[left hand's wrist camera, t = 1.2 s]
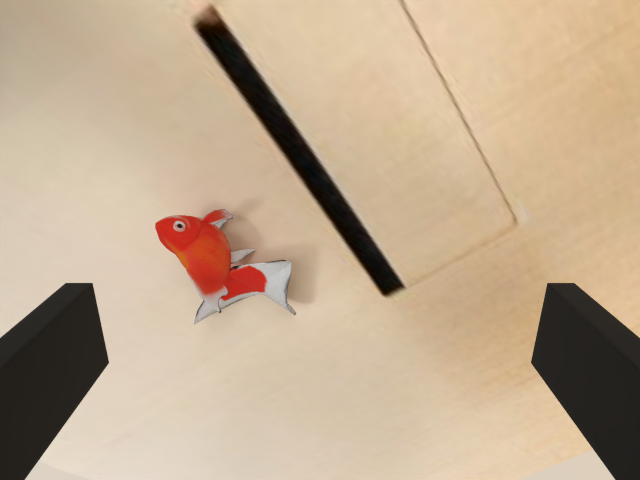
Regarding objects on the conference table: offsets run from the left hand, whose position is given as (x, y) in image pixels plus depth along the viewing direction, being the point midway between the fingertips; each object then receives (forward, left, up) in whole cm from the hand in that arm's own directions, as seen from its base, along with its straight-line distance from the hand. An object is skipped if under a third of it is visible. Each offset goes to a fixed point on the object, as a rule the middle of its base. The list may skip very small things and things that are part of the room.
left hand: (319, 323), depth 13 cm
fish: (-8, -11, -31) cm, 33 cm away
